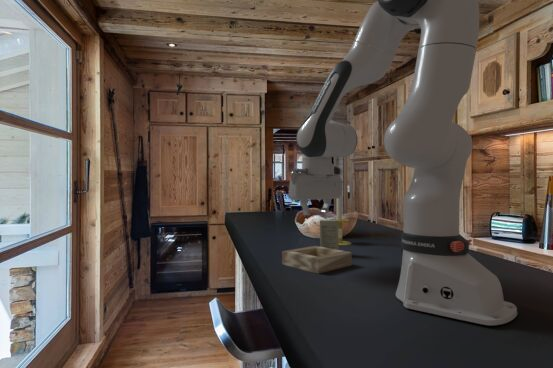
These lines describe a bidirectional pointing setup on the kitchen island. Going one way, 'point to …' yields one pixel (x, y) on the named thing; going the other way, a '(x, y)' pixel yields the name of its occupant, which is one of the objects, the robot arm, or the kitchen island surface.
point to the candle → (340, 221)
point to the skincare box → (329, 234)
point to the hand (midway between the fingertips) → (316, 214)
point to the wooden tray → (317, 259)
